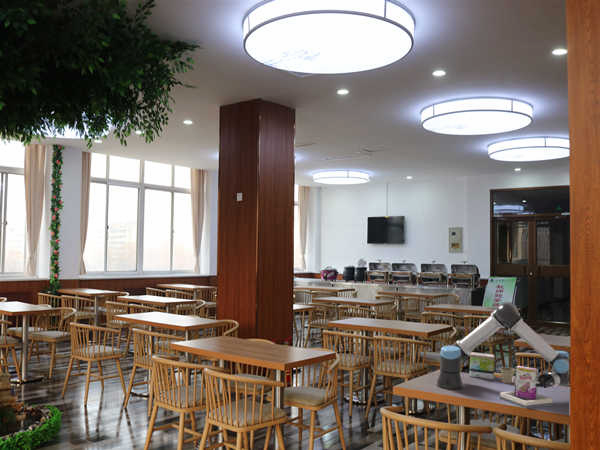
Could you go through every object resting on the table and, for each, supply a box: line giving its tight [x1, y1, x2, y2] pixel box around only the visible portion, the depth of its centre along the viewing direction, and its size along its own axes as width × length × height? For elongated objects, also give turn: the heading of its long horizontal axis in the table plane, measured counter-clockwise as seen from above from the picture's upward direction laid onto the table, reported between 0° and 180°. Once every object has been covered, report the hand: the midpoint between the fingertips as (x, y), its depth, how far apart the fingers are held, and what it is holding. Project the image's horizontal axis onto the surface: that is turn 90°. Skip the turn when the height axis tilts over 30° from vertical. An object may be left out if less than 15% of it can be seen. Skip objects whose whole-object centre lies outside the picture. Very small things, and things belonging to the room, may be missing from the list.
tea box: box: [469, 351, 495, 380], centre depth 354 cm, size 15×10×15 cm, turn 73°
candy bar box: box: [514, 365, 539, 400], centre depth 297 cm, size 11×5×16 cm, turn 56°
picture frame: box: [499, 390, 553, 409], centre depth 296 cm, size 18×20×4 cm
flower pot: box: [499, 366, 516, 385], centre depth 340 cm, size 9×9×9 cm
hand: (521, 382), depth 295 cm, fingers closed on candy bar box, 12 cm apart
